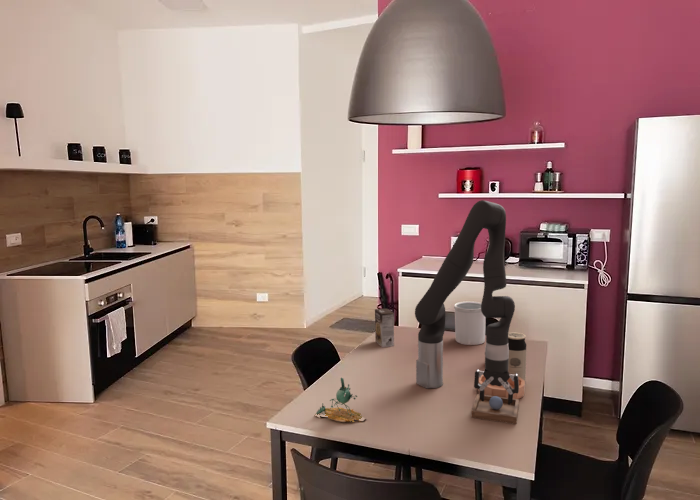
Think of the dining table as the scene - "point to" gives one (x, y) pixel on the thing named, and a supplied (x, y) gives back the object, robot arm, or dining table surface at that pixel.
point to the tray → (502, 415)
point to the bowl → (500, 390)
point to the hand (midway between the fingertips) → (495, 402)
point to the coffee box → (384, 327)
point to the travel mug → (517, 354)
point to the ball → (495, 402)
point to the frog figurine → (341, 413)
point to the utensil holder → (469, 323)
